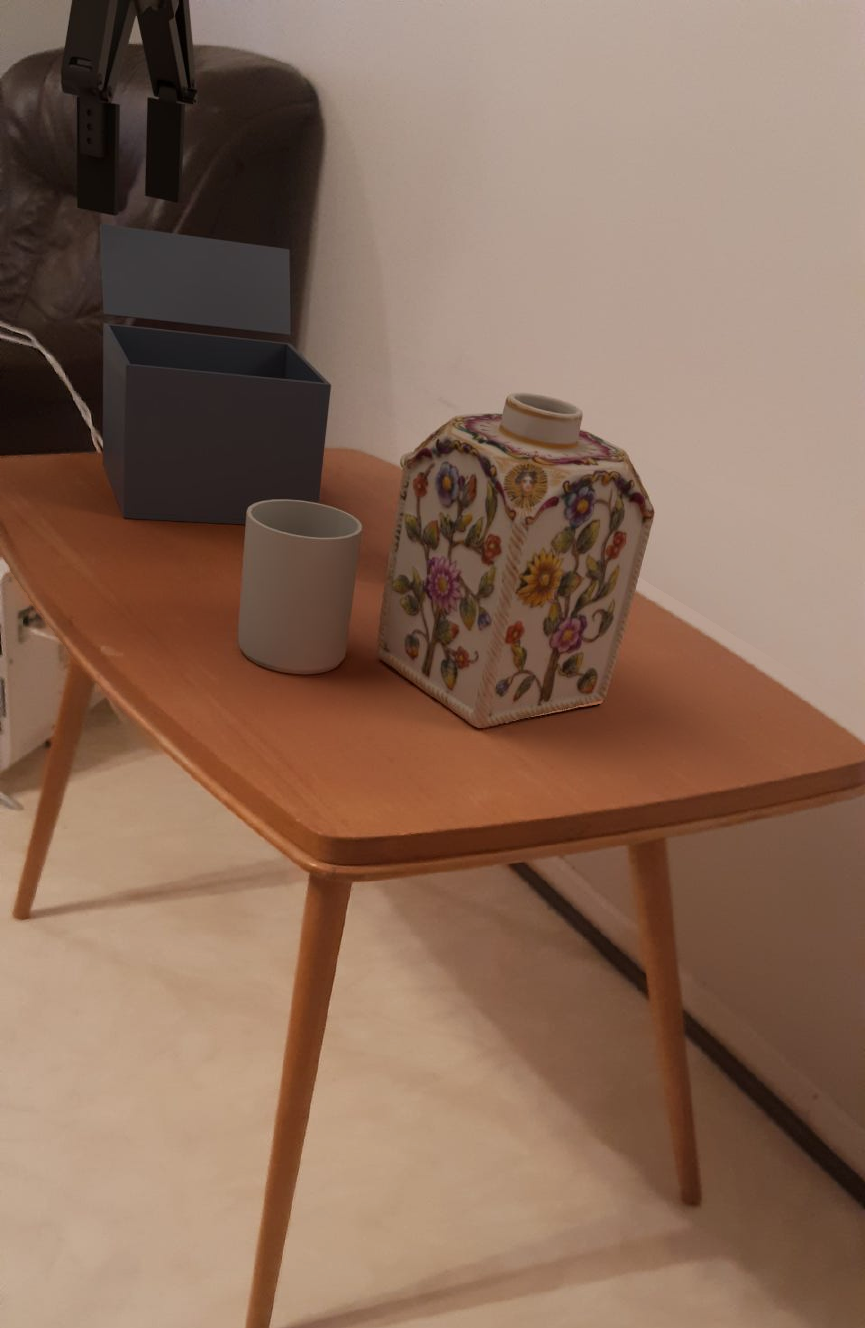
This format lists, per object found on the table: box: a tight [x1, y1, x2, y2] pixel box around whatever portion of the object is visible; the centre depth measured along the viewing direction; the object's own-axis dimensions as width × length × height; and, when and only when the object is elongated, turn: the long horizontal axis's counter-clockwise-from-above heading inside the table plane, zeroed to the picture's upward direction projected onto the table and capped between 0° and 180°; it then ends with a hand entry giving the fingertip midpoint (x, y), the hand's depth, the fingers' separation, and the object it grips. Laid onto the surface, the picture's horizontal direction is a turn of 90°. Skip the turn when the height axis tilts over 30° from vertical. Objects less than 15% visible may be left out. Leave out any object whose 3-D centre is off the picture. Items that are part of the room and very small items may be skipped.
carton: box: [102, 322, 332, 526], centre depth 101 cm, size 16×14×11 cm
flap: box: [99, 223, 292, 336], centre depth 102 cm, size 16×7×1 cm
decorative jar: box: [376, 392, 656, 729], centre depth 77 cm, size 12×12×18 cm
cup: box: [237, 499, 363, 675], centre depth 79 cm, size 7×10×9 cm
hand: (132, 205), depth 91 cm, fingers open, 13 cm apart
